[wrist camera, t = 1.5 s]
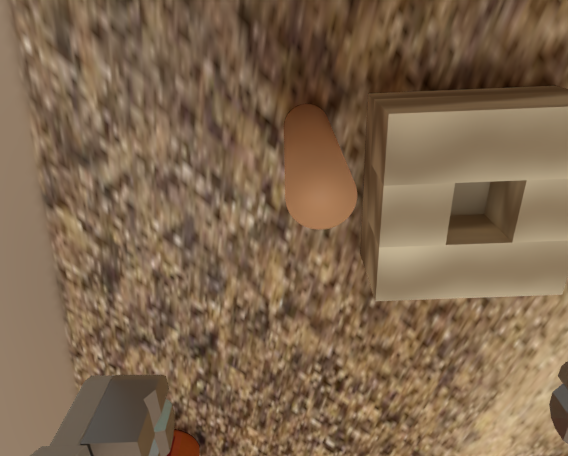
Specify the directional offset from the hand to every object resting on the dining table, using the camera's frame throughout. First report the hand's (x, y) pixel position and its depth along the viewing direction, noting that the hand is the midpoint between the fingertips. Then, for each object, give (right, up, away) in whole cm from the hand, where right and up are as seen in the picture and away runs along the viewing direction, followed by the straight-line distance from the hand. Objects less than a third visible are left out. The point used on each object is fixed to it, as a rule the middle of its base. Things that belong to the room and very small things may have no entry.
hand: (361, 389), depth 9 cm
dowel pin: (0, +10, +20) cm, 22 cm away
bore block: (+10, +7, +21) cm, 25 cm away
